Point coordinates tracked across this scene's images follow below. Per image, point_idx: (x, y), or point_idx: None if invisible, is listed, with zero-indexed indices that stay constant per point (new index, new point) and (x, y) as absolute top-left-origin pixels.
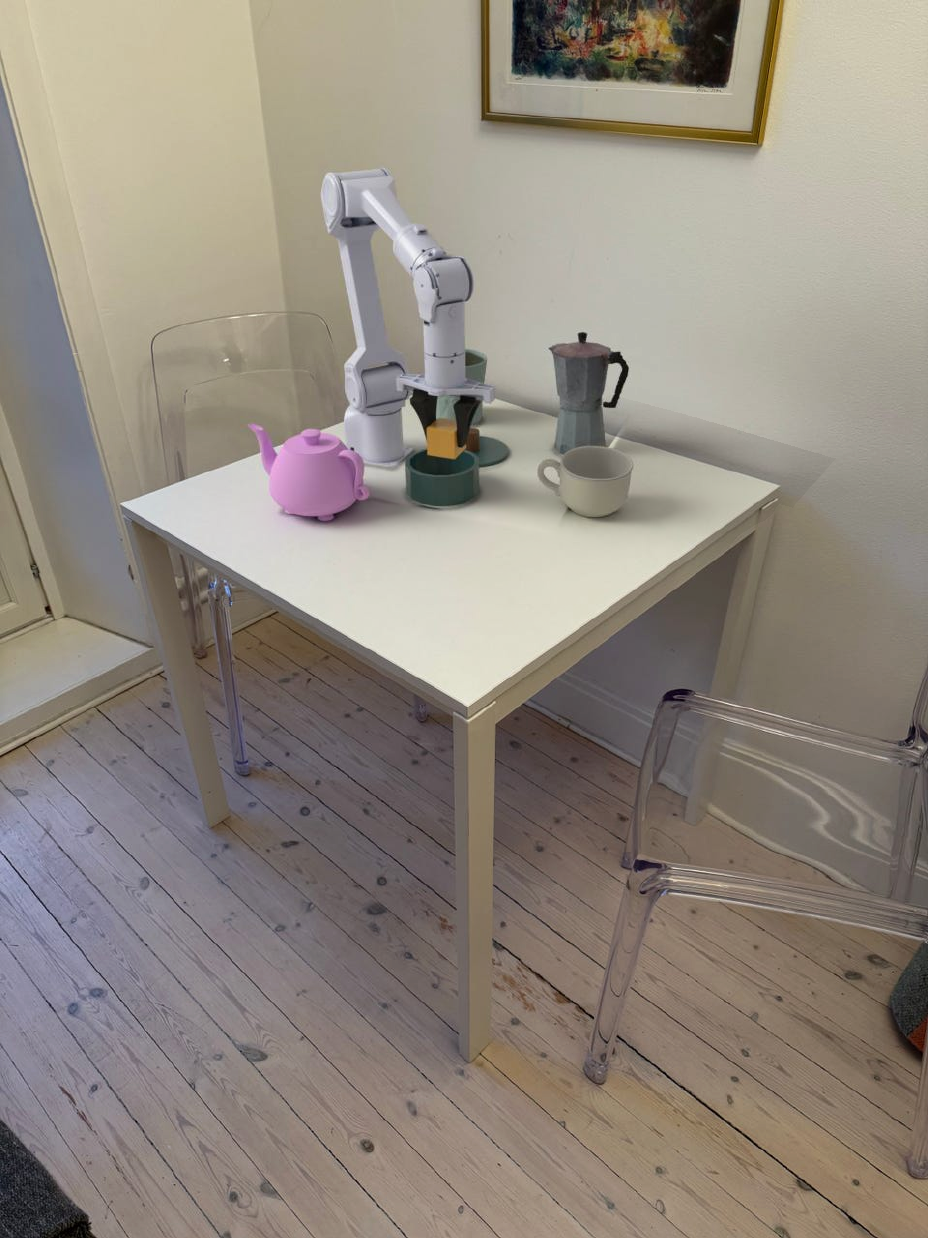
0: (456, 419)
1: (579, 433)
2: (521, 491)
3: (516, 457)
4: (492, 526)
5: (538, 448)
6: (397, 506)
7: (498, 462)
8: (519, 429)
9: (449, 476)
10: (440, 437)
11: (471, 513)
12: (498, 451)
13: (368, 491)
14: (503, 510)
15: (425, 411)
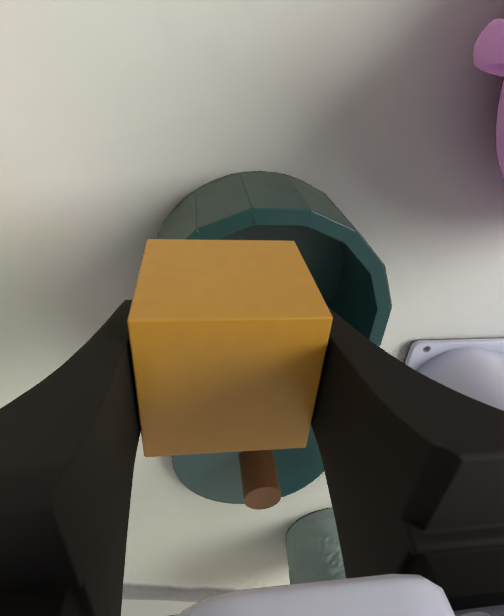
0: (97, 395)
1: None
2: (59, 346)
3: (158, 466)
4: (6, 116)
5: (134, 505)
6: (357, 150)
7: None
8: (205, 542)
9: (196, 232)
10: (230, 291)
11: (120, 183)
12: (195, 467)
13: (486, 43)
14: (40, 234)
15: (381, 403)
